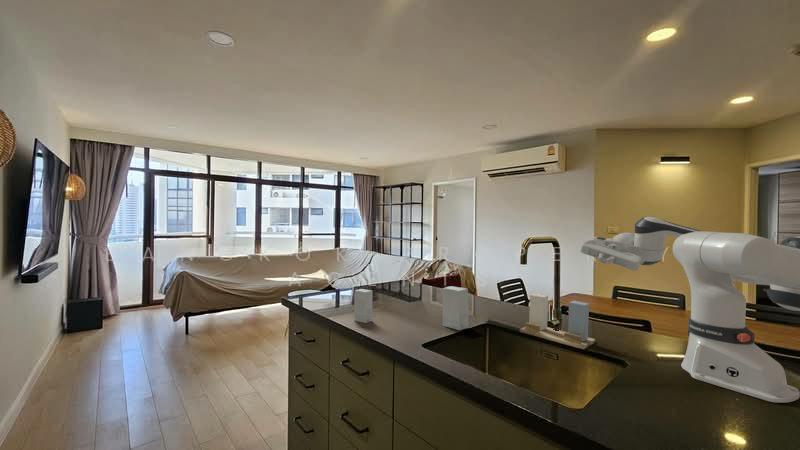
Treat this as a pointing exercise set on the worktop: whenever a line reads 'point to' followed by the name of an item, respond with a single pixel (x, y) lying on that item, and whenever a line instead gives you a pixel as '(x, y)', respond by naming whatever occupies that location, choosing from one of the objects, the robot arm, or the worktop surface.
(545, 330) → the switch base
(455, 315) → the skincare box
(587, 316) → the slate blue key
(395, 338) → the worktop surface
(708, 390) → the worktop surface
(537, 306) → the ivory key
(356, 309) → the skincare box
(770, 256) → the robot arm
